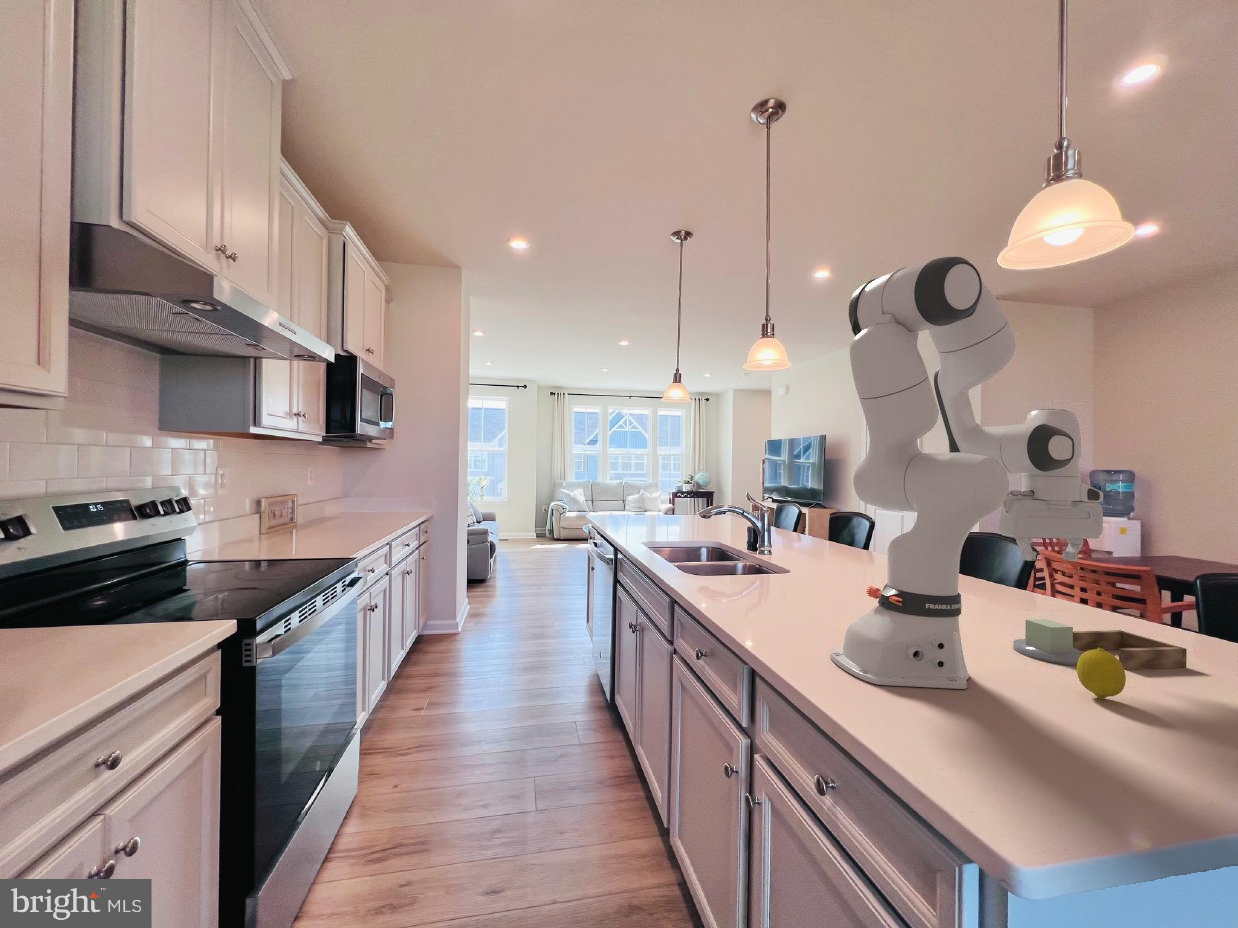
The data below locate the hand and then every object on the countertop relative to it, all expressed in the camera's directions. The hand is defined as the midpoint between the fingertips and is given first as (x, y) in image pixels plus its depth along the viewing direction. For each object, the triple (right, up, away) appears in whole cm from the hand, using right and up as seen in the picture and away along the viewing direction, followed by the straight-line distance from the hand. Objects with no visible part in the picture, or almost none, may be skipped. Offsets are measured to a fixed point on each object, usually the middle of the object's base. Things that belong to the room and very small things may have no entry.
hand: (1049, 560), depth 97 cm
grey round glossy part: (0, -19, 0) cm, 19 cm away
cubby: (+13, -19, -1) cm, 23 cm away
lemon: (-9, -18, -20) cm, 29 cm away
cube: (0, -18, 0) cm, 18 cm away
